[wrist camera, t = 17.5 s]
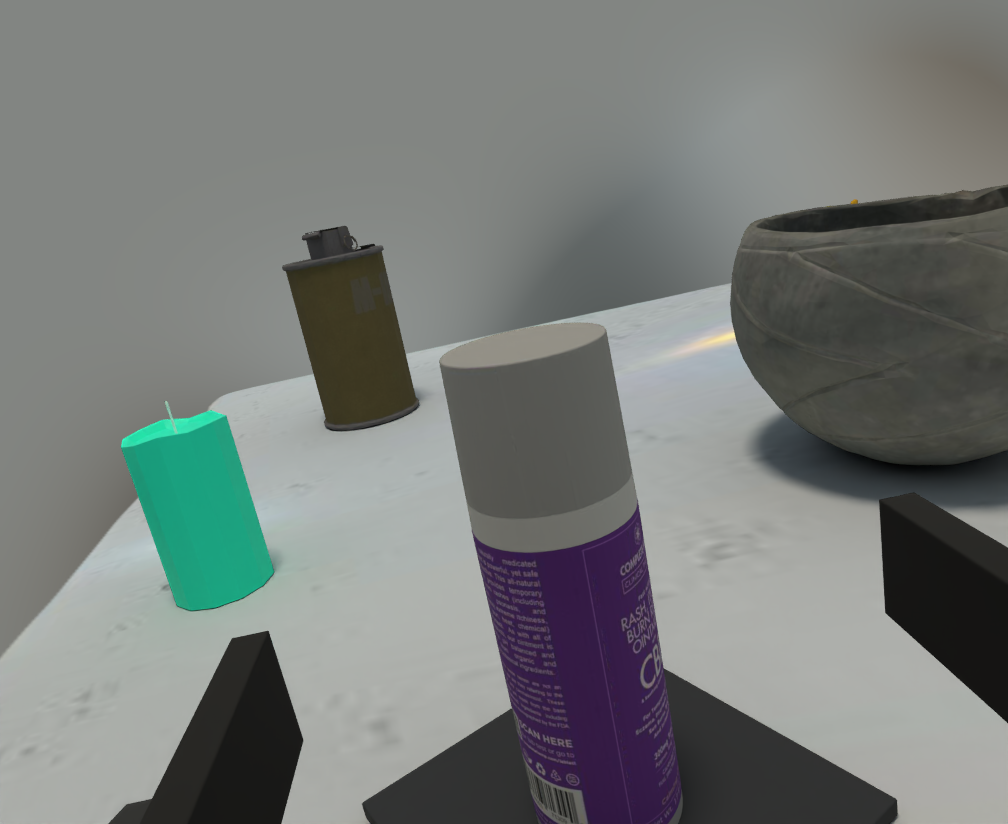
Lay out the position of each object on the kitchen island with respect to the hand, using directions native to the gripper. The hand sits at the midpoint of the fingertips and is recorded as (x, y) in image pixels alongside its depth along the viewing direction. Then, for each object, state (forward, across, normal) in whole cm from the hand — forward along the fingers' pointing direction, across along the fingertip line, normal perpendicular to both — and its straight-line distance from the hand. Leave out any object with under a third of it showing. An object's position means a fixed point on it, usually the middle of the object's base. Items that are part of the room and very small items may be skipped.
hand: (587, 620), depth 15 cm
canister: (+65, -13, -11) cm, 67 cm away
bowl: (+28, +25, -11) cm, 39 cm away
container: (+5, 0, -10) cm, 11 cm away
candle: (+29, -19, -11) cm, 36 cm away
